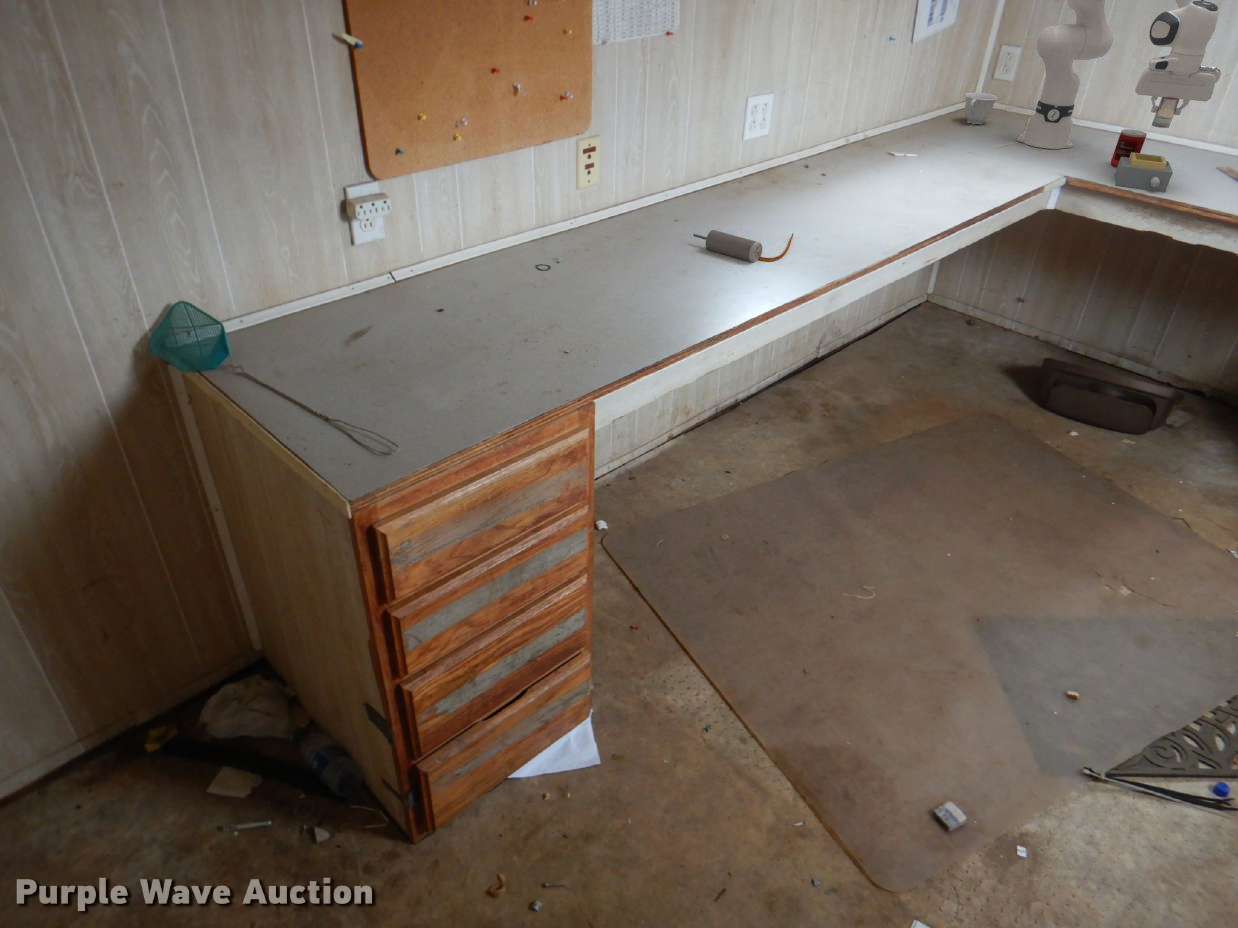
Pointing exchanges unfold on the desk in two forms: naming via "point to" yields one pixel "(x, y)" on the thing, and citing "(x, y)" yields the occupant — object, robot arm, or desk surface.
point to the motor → (737, 246)
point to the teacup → (978, 106)
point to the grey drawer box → (1143, 172)
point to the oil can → (1165, 112)
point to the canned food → (1128, 144)
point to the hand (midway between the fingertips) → (1165, 113)
